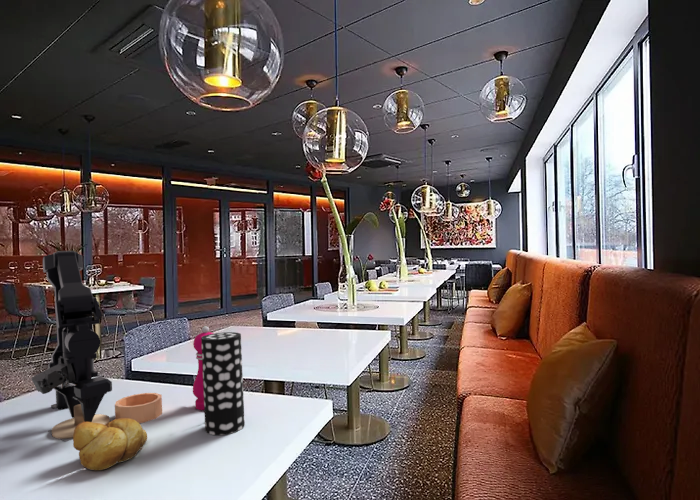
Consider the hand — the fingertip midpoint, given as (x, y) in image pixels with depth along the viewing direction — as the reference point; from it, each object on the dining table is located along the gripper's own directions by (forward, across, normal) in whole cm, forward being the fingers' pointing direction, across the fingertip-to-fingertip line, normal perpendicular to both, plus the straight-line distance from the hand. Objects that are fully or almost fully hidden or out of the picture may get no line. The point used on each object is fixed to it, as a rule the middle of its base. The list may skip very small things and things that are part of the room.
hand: (81, 420), depth 99 cm
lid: (+2, 0, 0) cm, 2 cm away
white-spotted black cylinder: (+2, +26, +19) cm, 32 cm away
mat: (+2, 0, 0) cm, 2 cm away
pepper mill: (+2, +11, +25) cm, 27 cm away
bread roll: (+3, +21, -2) cm, 21 cm away
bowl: (+2, +4, +11) cm, 12 cm away
